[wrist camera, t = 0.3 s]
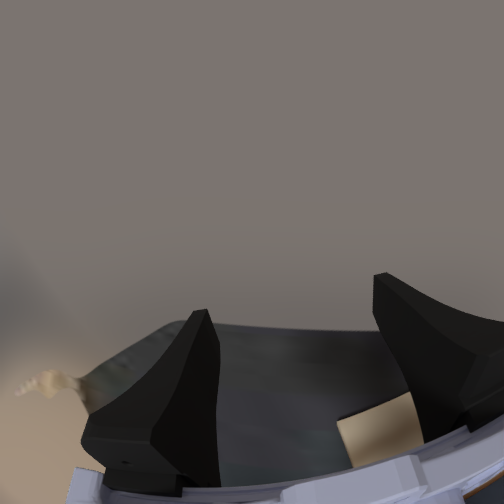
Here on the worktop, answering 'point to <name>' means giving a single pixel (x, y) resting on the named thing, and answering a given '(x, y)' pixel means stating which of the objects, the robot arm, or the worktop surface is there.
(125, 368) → the worktop surface
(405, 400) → the oak board
